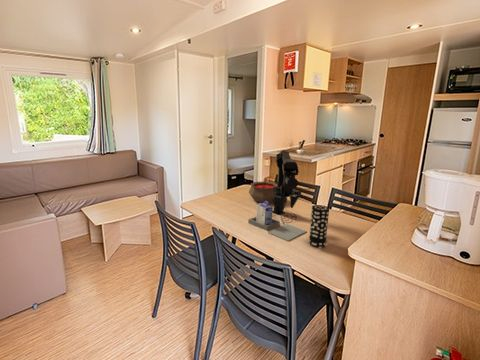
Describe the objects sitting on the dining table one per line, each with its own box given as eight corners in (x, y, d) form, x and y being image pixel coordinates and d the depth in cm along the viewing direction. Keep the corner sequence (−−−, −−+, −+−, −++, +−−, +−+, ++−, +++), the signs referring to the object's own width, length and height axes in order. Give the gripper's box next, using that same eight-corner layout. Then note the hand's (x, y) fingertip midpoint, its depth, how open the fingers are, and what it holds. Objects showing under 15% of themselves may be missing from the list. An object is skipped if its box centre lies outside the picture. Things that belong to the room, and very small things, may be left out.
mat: (286, 224, 163) (287, 223, 163) (306, 232, 153) (306, 231, 153) (267, 233, 151) (267, 232, 151) (288, 241, 141) (288, 240, 141)
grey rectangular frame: (261, 218, 173) (261, 214, 172) (279, 225, 162) (279, 221, 162) (248, 223, 165) (248, 219, 164) (266, 230, 154) (266, 226, 154)
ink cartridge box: (272, 226, 161) (273, 203, 157) (264, 227, 158) (265, 204, 155) (263, 220, 169) (264, 198, 166) (255, 222, 167) (256, 200, 163)
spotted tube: (306, 240, 143) (309, 205, 138) (321, 240, 143) (325, 204, 139) (312, 248, 135) (315, 210, 130) (328, 247, 135) (332, 210, 131)
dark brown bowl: (249, 196, 221) (250, 177, 217) (279, 198, 217) (280, 178, 214) (246, 205, 197) (247, 184, 194) (279, 207, 194) (280, 185, 191)
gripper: (286, 178, 161) (285, 202, 165) (266, 183, 148) (265, 209, 152) (302, 181, 153) (300, 207, 157) (282, 187, 140) (281, 215, 144)
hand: (286, 209), depth 153 cm, fingers open, 9 cm apart
